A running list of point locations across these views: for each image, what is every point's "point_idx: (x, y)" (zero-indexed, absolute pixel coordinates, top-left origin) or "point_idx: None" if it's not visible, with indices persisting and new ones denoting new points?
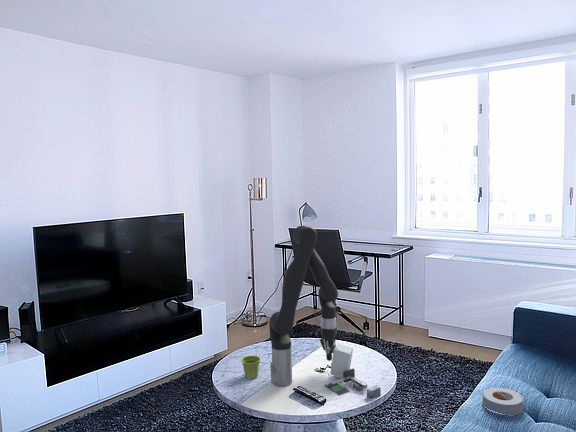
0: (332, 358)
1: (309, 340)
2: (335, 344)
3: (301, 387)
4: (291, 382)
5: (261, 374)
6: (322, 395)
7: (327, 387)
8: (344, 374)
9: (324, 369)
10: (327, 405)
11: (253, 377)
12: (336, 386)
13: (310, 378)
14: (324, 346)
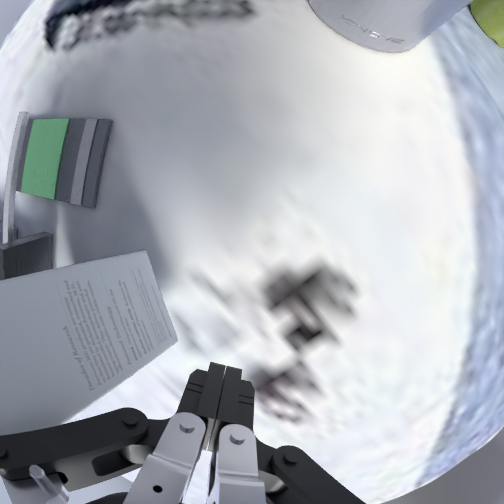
0: (5, 281)
1: (474, 446)
2: (10, 490)
3: (220, 11)
4: (315, 10)
5: (490, 52)
6: (72, 50)
7: (87, 119)
8: (8, 242)
9: (287, 329)
10: (32, 32)
11: (471, 2)
12: (52, 164)
13: (268, 135)
14: (259, 493)
